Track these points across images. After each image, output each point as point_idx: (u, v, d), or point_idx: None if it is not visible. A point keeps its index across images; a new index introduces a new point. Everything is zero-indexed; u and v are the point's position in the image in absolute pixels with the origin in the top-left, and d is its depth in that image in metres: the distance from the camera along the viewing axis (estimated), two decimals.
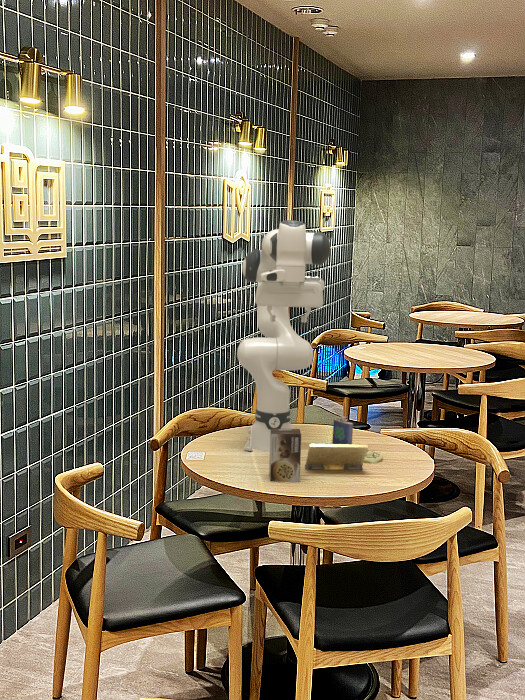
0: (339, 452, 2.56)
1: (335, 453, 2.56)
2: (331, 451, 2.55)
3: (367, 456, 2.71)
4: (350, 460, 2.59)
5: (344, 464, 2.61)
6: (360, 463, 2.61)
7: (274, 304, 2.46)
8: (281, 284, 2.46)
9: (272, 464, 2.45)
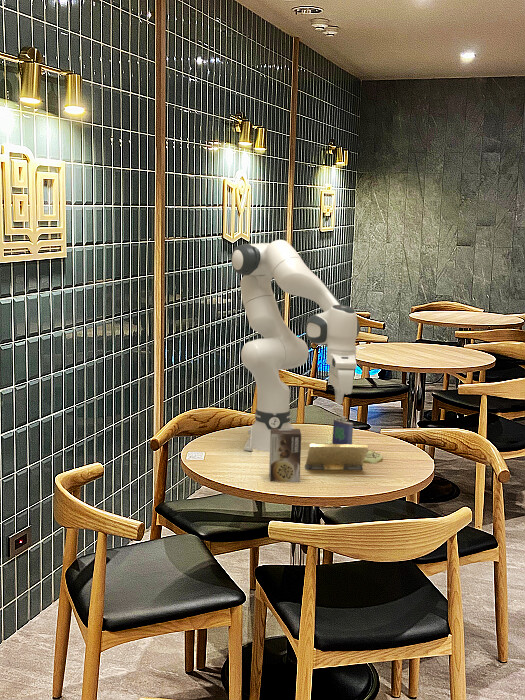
0: (339, 452, 2.56)
1: (335, 453, 2.56)
2: (331, 451, 2.55)
3: (367, 456, 2.71)
4: (350, 460, 2.59)
5: (344, 464, 2.61)
6: (360, 463, 2.61)
7: None
8: None
9: (272, 464, 2.45)
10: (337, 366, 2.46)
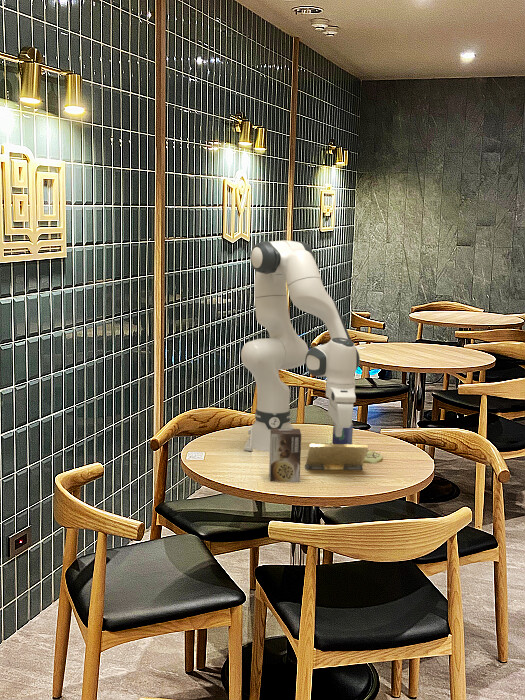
0: (339, 452, 2.56)
1: (335, 453, 2.56)
2: (331, 451, 2.55)
3: (367, 456, 2.71)
4: (350, 460, 2.59)
5: (344, 464, 2.61)
6: (360, 463, 2.61)
7: None
8: None
9: (272, 464, 2.45)
10: (336, 400, 2.46)
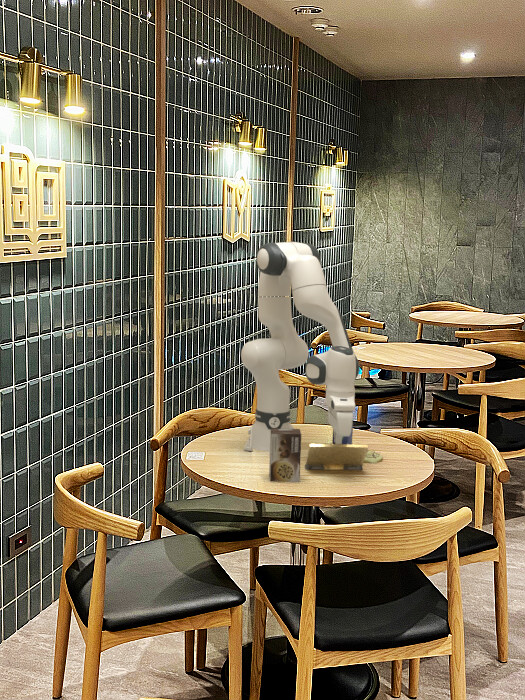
0: (339, 452, 2.56)
1: (335, 453, 2.56)
2: (331, 451, 2.55)
3: (367, 456, 2.71)
4: (350, 460, 2.59)
5: (344, 464, 2.61)
6: (360, 463, 2.61)
7: None
8: None
9: (272, 464, 2.45)
10: (336, 408, 2.46)
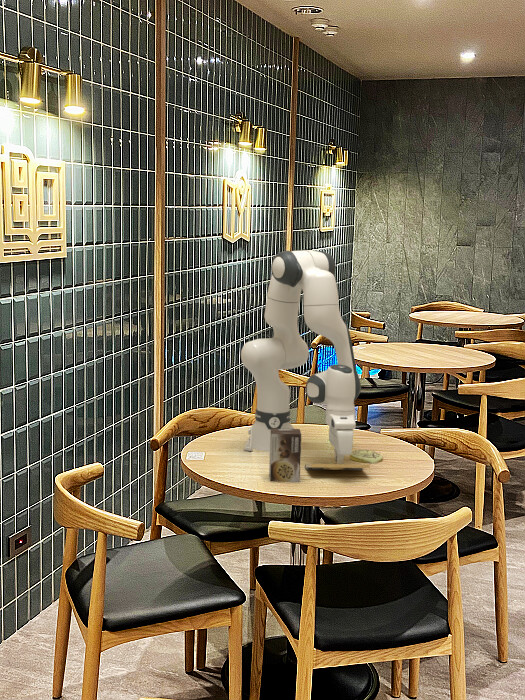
0: None
1: None
2: None
3: (367, 456, 2.71)
4: None
5: None
6: None
7: None
8: None
9: (272, 464, 2.45)
10: (336, 427, 2.46)
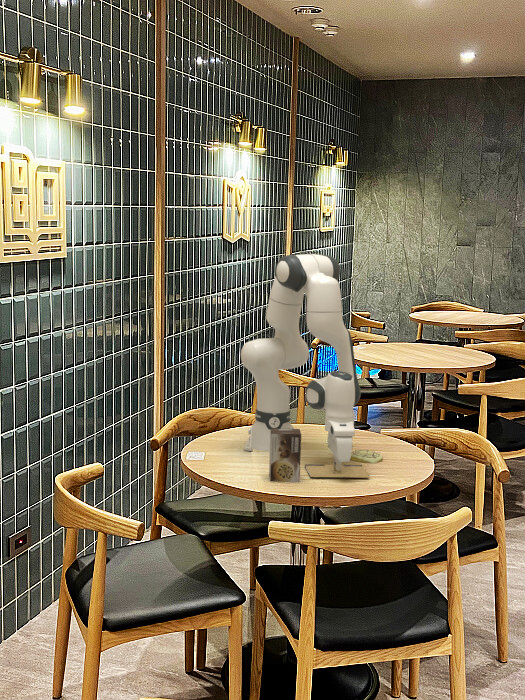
0: None
1: None
2: None
3: (367, 456, 2.71)
4: None
5: None
6: None
7: None
8: None
9: (272, 464, 2.45)
10: (335, 434, 2.47)
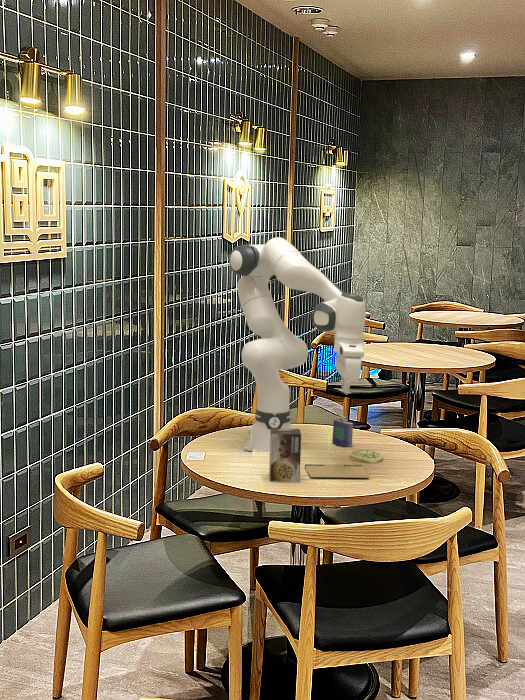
0: None
1: None
2: None
3: (367, 456, 2.71)
4: None
5: None
6: None
7: None
8: None
9: (272, 464, 2.45)
10: (345, 354, 2.46)
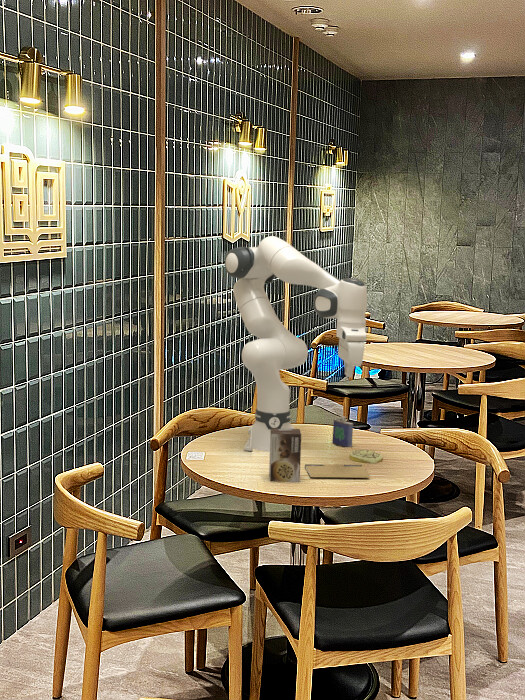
0: None
1: None
2: None
3: (367, 456, 2.71)
4: None
5: None
6: None
7: None
8: None
9: (272, 464, 2.45)
10: (347, 338, 2.47)
